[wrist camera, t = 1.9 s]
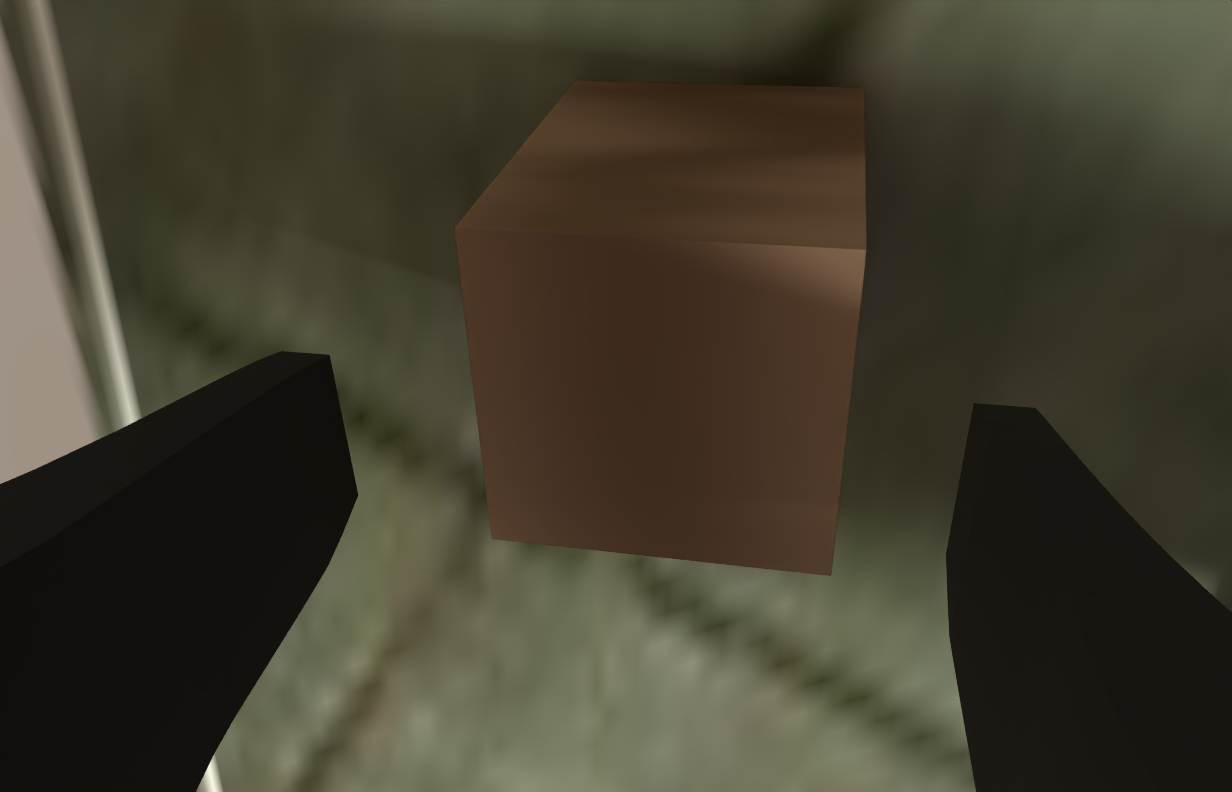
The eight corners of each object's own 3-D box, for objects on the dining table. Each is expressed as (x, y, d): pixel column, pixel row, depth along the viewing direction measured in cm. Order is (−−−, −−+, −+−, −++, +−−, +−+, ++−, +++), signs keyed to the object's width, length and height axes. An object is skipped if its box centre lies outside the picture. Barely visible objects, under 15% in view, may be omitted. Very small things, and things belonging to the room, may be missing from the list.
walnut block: (864, 87, 16) (867, 249, 11) (839, 345, 18) (831, 575, 13) (575, 79, 17) (453, 227, 12) (588, 328, 19) (491, 538, 14)
